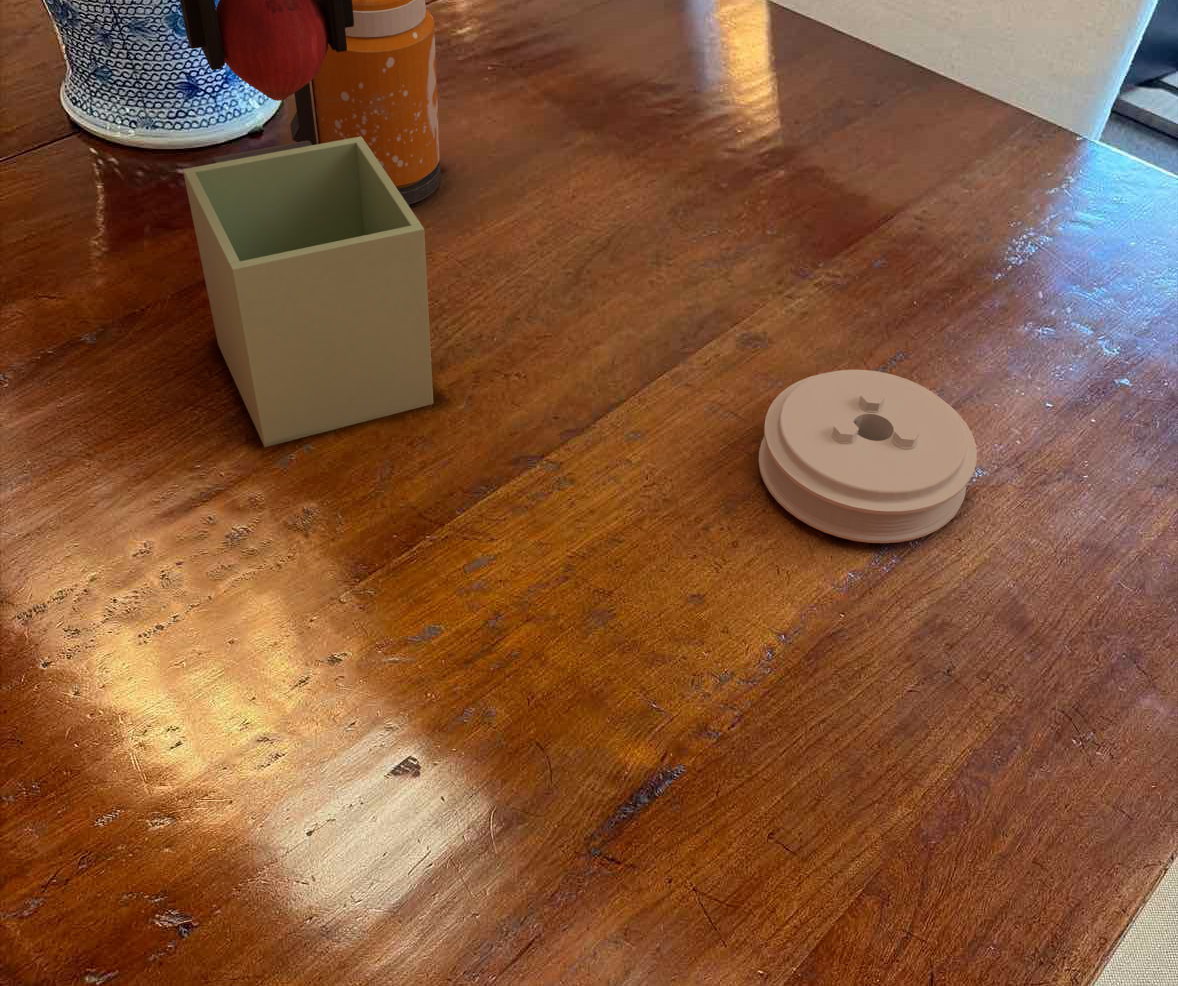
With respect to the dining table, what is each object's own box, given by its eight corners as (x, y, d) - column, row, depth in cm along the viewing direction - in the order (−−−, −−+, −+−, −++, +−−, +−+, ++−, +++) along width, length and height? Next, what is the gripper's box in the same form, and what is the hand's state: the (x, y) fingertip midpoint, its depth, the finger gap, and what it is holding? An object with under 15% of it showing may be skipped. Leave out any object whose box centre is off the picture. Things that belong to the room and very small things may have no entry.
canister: (448, 211, 98) (438, -64, 84) (300, 223, 97) (262, -57, 82) (432, 151, 104) (420, -117, 90) (292, 160, 102) (255, -112, 88)
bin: (424, 228, 74) (340, 104, 83) (231, 269, 70) (166, 135, 79) (434, 406, 83) (358, 278, 92) (264, 450, 80) (203, 312, 89)
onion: (341, 76, 74) (327, -72, 68) (325, 127, 70) (308, -25, 64) (238, 70, 74) (214, -78, 68) (216, 121, 70) (189, -32, 64)
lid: (718, 494, 79) (729, 431, 75) (814, 389, 86) (828, 327, 83) (908, 586, 75) (929, 524, 71) (993, 467, 82) (1016, 405, 78)
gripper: (385, -388, 61) (407, -1, 74) (-3, -372, 56) (96, 41, 69) (435, -347, 56) (450, 58, 70) (19, -325, 51) (120, 107, 65)
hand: (273, 46), depth 69 cm, fingers closed on onion, 5 cm apart
